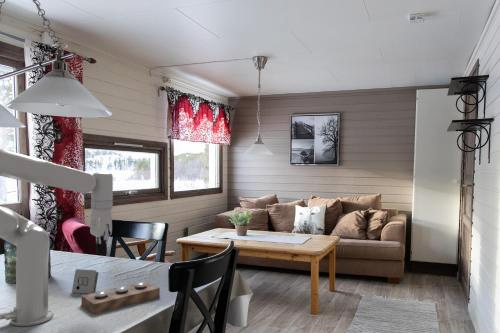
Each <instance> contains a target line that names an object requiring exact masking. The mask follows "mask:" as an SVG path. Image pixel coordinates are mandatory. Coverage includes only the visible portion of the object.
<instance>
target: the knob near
mask: <svg viewBox="0 0 500 333" xmlns="http://www.w3.org/2000/svg"><path fill="white" fill-rule="evenodd" d="M94 293H95V298H97V299H101V298H106V297H107V296H108V292H107V291H105V290H99V291H98V290H97V291H95V292H94Z"/></svg>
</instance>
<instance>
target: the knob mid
mask: <svg viewBox="0 0 500 333" xmlns="http://www.w3.org/2000/svg"><path fill="white" fill-rule="evenodd" d="M126 286H127V285H123V286H122V285H120V286H117V287H115V288H116V293H118V294H122V293H126V292H128V287H126Z"/></svg>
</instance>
